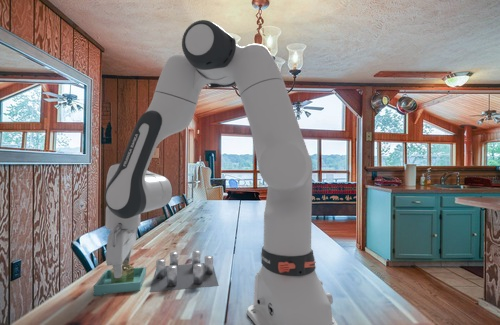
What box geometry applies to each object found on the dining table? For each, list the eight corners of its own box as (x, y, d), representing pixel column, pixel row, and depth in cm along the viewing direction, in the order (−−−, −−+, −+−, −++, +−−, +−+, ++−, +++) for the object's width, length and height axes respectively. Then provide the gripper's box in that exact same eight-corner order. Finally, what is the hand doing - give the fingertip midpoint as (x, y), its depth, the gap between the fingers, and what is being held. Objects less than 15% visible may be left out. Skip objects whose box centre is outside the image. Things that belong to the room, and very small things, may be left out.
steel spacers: (215, 283, 75) (215, 265, 75) (153, 288, 71) (153, 270, 71) (210, 264, 90) (210, 249, 90) (158, 268, 86) (158, 252, 86)
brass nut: (135, 278, 78) (135, 263, 78) (131, 285, 73) (132, 270, 73) (113, 279, 76) (113, 265, 76) (108, 287, 71) (108, 271, 71)
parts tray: (140, 291, 70) (140, 282, 70) (93, 296, 68) (93, 286, 68) (146, 275, 81) (146, 266, 81) (106, 278, 79) (106, 269, 79)
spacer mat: (218, 287, 74) (218, 285, 74) (149, 293, 70) (149, 292, 70) (212, 263, 91) (212, 262, 91) (156, 267, 87) (156, 266, 87)
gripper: (127, 228, 65) (126, 285, 65) (141, 213, 85) (140, 257, 85) (99, 229, 64) (98, 287, 64) (119, 214, 84) (118, 258, 84)
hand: (122, 269), depth 75 cm, fingers open, 8 cm apart
